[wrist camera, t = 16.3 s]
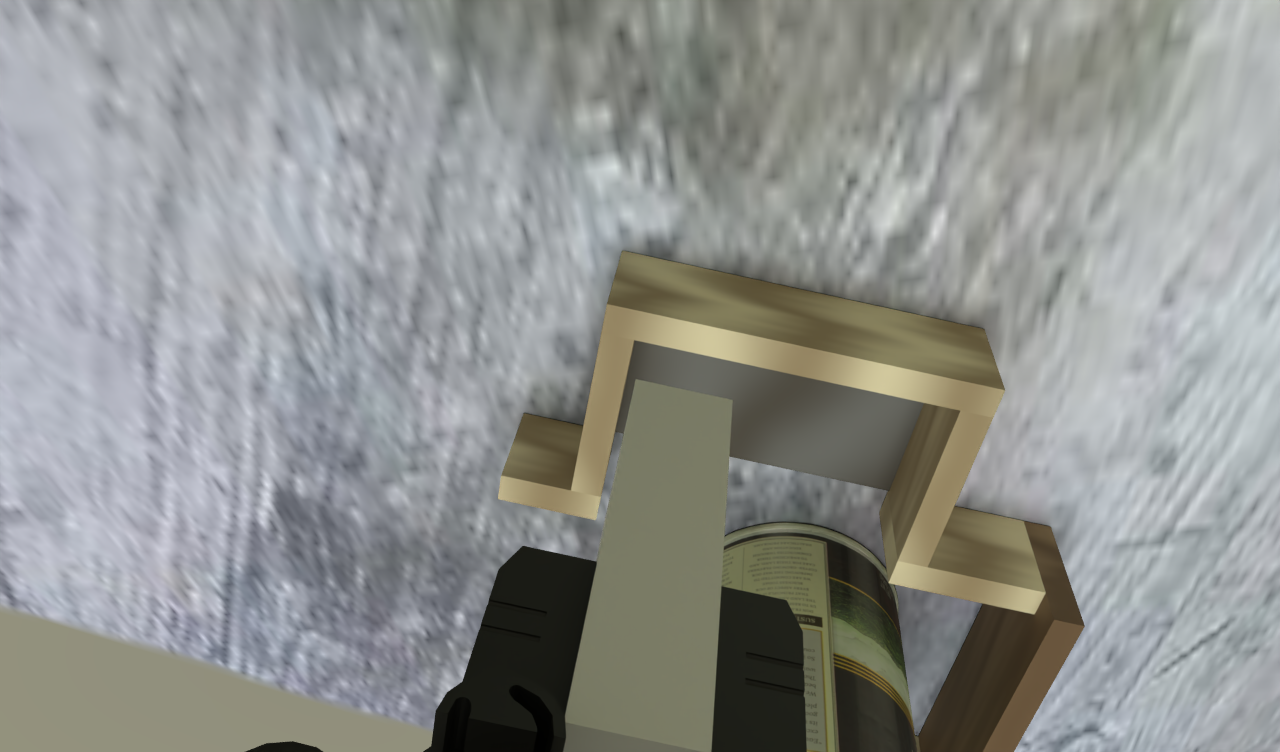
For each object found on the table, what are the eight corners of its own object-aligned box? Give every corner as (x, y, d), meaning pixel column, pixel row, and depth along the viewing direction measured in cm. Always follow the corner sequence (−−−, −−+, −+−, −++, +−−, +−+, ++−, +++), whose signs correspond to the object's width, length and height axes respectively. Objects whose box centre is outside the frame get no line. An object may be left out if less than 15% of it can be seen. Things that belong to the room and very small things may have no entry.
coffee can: (935, 556, 48) (989, 834, 36) (849, 706, 54) (871, 991, 42) (714, 492, 48) (694, 752, 36) (650, 650, 53) (614, 922, 41)
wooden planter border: (485, 661, 55) (455, 758, 49) (551, 235, 42) (520, 307, 37) (933, 757, 55) (950, 863, 50) (1134, 361, 42) (1183, 450, 37)
